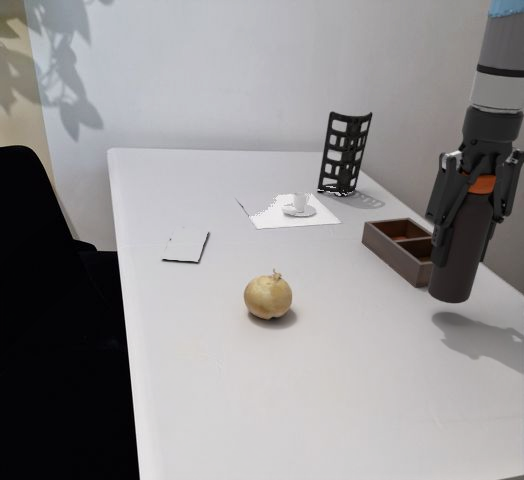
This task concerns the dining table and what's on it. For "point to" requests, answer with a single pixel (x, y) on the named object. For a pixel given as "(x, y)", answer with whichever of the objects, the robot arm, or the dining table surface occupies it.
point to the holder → (344, 152)
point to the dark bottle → (464, 244)
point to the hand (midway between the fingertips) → (456, 261)
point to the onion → (268, 296)
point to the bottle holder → (402, 247)
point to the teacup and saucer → (293, 212)
